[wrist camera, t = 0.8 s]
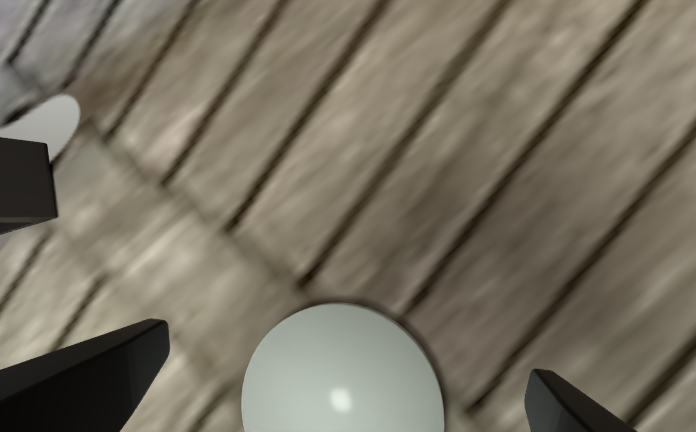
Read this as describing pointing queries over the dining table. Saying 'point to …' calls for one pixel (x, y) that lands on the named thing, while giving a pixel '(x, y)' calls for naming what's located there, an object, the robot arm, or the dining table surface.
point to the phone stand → (24, 184)
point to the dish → (341, 376)
